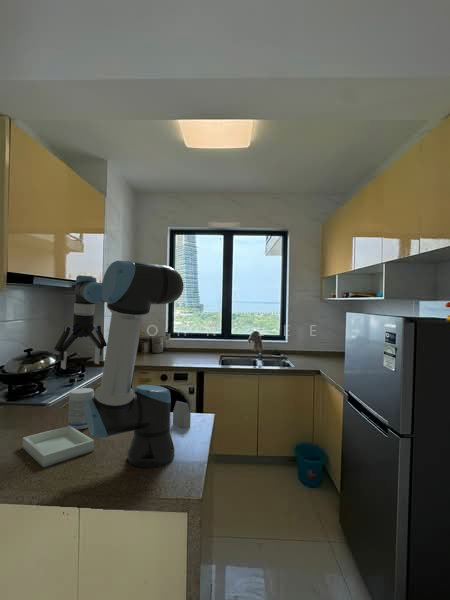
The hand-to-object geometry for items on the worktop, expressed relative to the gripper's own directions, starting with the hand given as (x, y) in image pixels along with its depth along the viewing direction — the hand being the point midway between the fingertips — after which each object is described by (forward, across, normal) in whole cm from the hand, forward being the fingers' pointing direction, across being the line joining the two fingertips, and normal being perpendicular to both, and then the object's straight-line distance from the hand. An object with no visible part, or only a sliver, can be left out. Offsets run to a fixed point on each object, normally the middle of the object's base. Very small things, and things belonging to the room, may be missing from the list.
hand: (80, 365), depth 128 cm
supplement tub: (+26, -2, 0) cm, 26 cm away
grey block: (+23, -30, +30) cm, 49 cm away
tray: (+24, +13, +15) cm, 31 cm away
